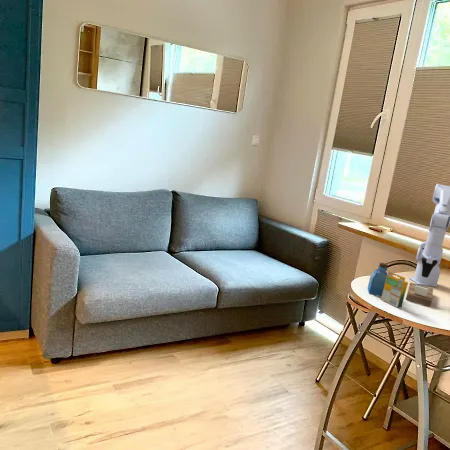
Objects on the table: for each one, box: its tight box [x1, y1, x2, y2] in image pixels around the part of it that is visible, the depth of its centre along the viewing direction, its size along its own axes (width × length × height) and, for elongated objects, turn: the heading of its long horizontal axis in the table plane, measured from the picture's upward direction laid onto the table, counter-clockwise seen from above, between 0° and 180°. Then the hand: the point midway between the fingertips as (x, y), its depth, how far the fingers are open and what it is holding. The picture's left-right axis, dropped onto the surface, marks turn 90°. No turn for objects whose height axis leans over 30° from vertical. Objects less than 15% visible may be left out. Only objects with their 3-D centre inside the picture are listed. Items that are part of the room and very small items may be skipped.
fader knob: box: [414, 283, 429, 297], centre depth 178 cm, size 3×4×3 cm
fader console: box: [405, 281, 434, 308], centre depth 183 cm, size 18×9×3 cm, turn 154°
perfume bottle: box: [367, 262, 388, 297], centre depth 178 cm, size 6×6×12 cm
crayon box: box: [380, 270, 409, 309], centre depth 169 cm, size 7×3×12 cm, turn 36°
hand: (424, 276), depth 181 cm, fingers closed
